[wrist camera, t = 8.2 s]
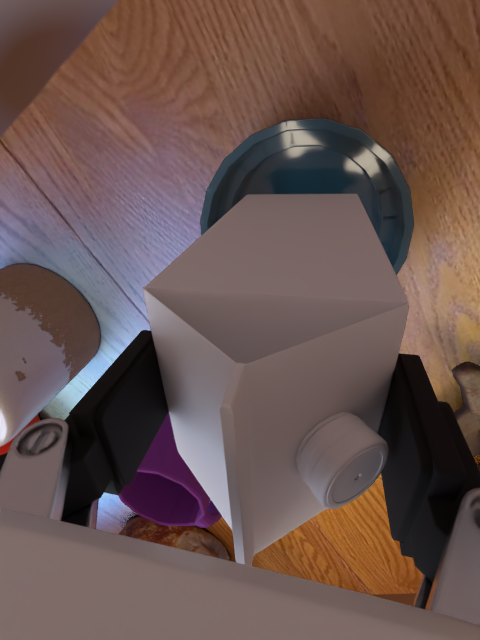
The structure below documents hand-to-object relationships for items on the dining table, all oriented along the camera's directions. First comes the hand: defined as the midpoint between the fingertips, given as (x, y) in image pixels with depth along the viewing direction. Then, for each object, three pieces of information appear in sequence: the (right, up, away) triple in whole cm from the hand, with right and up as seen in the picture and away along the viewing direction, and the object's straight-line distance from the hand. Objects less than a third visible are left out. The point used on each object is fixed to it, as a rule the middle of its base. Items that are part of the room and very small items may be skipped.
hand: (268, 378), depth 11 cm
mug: (-4, -10, +33) cm, 35 cm away
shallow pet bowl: (+5, +11, +18) cm, 22 cm away
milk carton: (+3, +7, +12) cm, 14 cm away
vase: (-26, +2, +31) cm, 41 cm away
